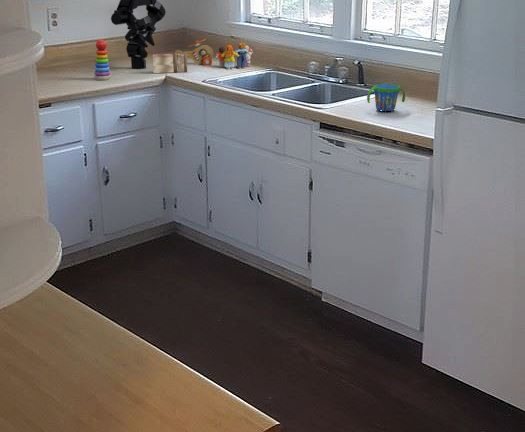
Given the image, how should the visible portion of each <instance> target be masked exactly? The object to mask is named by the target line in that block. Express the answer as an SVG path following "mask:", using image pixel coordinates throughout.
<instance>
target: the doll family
mask: <svg viewBox="0 0 525 432" xmlns="http://www.w3.org/2000/svg"><path fill="white" fill-rule="evenodd" d="M237 46H238V49H236V50H234V48H233V46H232V45H231V44H227V45H226V47H223V46H222V47H221V46H220V47H219V48H218V53H216V56H215V59H218V58H219V60H218V62H219V68H221V69H222V68H223V69H225V70H227V71H232V70H233V71H234V70H235V68H234V67H235V62H236V68H237V69H245V68H250V67H251V65H250V64H251V56H252V54H253V53H254V52H253V49H252V48H250V47H249V45H246V42H239V43H238V45H237ZM235 57H237V59H235ZM236 60H237V61H236Z"/></svg>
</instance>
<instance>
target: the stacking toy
mask: <svg viewBox="0 0 525 432" xmlns="http://www.w3.org/2000/svg"><path fill="white" fill-rule="evenodd" d="M107 46H108V44H107V42H106V41H105V40H103V39H98V40H97V41H96V42H95V47H96V49H97V50H96V52H95V53H96V54H95V64H94V66H95V67H94V72H93V73H94V77H93V79H95V80H96V81H108V80H110V79H111V78H112V76H111V71H110V66H109V65H110V63H109V59H108V51H107V50H106V49H107Z"/></svg>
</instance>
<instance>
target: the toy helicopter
mask: <svg viewBox="0 0 525 432" xmlns="http://www.w3.org/2000/svg"><path fill="white" fill-rule="evenodd" d="M206 40H207V39H206V38H205V39H202V40H195V41H194V43H193V44H190V45H188V48H190V47H193V46H194V49H193V50H191V51H181V50H180V49H176V50H174V52H173V53H177V54H183V53H187V59H188V58H189V59H192V60H193V65H195V66H198V65H203V66H212V64H213V58H214V50H213V48H212V47H211V46H209V45H207V44H202V42H204V41H206ZM177 61H178V56H177Z"/></svg>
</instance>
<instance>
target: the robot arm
mask: <svg viewBox="0 0 525 432" xmlns="http://www.w3.org/2000/svg"><path fill="white" fill-rule="evenodd" d="M143 6H145V10H146V11H147V12H146V13H147V15H146V16H145V17H142V18H140V19H139V18H137V17H136V16H135V15H134V10H136V9H137V8H138V7H143ZM166 12H167V11H166V9H165V7H164V6H163V4H162V3H160V1H158V0H119V2H118V5H117V7H116V9H115V10H114V11H113V13H112V14H111V17H110V21H111V23H112V24H113V25H115V26H118V25H124V24H126V26H127V27H126V29H127V30H128V31H127V32H126V34H124V39H125V41H127V43H126V44H127V45H126V53H127V57H128V58H130V62H131V65H130V66H131V69H132V70H145V69H146V68H147V60H146V58H148V54H149V53H148V51H147V50H146V49H147V48H148V44H150V45H151V46H153V47H154V46H156V44H155V41H154V39H153V34H154V33H155V31H156V30H157V28H156V24H157V23H158V22H160V21H162V20H163V19H164V17H165V15H166ZM147 43H148V44H147ZM145 48H146V49H145Z"/></svg>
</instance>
